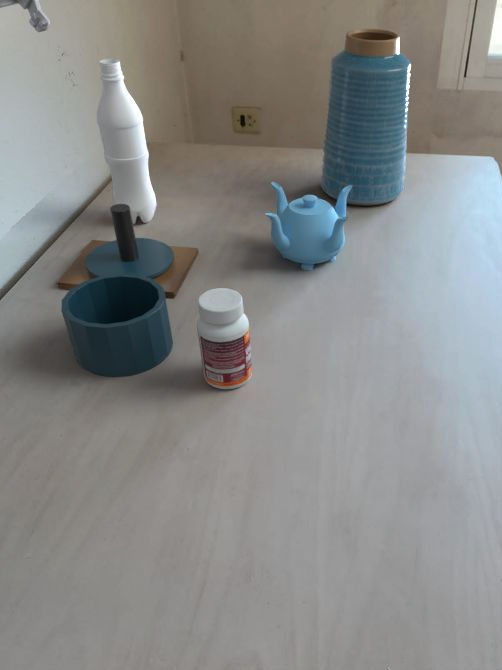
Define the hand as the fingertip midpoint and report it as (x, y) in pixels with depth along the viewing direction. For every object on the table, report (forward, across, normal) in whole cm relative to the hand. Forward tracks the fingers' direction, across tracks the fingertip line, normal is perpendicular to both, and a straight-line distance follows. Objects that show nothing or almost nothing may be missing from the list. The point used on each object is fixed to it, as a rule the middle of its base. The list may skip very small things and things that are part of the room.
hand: (20, 35), depth 80 cm
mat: (+29, +1, +15) cm, 33 cm away
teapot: (+46, +17, -1) cm, 49 cm away
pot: (+37, -17, +8) cm, 41 cm away
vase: (+45, +46, 0) cm, 64 cm away
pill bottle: (+48, -17, -3) cm, 51 cm away
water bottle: (+22, +17, +22) cm, 36 cm away
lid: (+28, +1, +14) cm, 31 cm away
